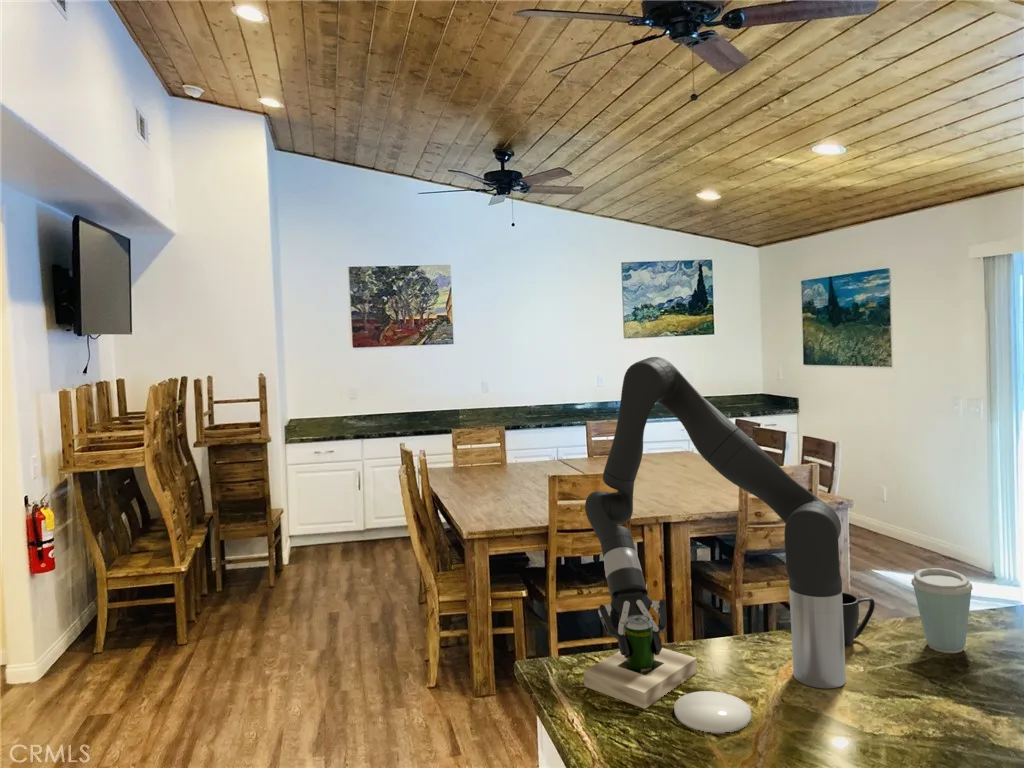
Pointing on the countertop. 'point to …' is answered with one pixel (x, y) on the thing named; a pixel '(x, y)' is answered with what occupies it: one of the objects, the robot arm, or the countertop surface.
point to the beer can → (640, 644)
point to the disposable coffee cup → (943, 607)
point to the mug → (854, 616)
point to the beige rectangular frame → (640, 677)
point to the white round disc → (712, 712)
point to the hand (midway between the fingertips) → (642, 654)
